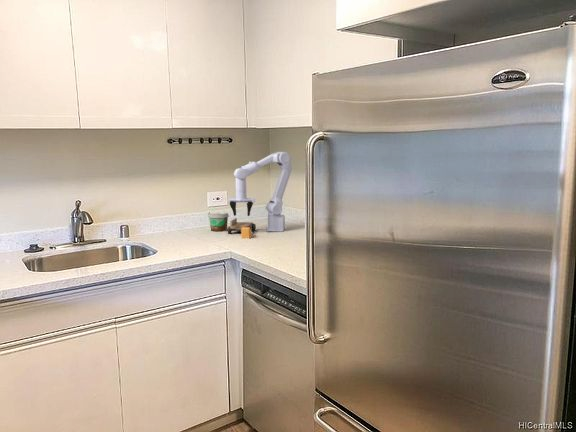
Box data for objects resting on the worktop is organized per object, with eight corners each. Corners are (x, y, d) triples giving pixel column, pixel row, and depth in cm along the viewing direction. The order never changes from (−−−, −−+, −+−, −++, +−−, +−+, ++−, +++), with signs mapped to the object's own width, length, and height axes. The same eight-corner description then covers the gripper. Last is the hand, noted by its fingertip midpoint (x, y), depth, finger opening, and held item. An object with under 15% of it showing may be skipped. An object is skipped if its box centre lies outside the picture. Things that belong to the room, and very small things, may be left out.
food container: (204, 231, 258) (203, 213, 256) (209, 229, 264) (208, 212, 262) (224, 232, 254) (224, 214, 253) (229, 230, 260) (228, 212, 258)
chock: (252, 235, 247) (252, 225, 246) (249, 238, 239) (248, 228, 238) (245, 235, 247) (245, 225, 246) (241, 238, 239) (241, 228, 239)
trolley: (255, 230, 260) (255, 217, 259) (250, 234, 247) (249, 222, 246) (234, 229, 262) (233, 217, 261) (227, 234, 249) (227, 221, 248)
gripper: (225, 191, 245) (226, 216, 247) (252, 191, 242) (253, 217, 245) (229, 189, 252) (230, 214, 254) (255, 190, 249) (256, 214, 252)
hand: (241, 215), depth 250 cm, fingers open, 7 cm apart
